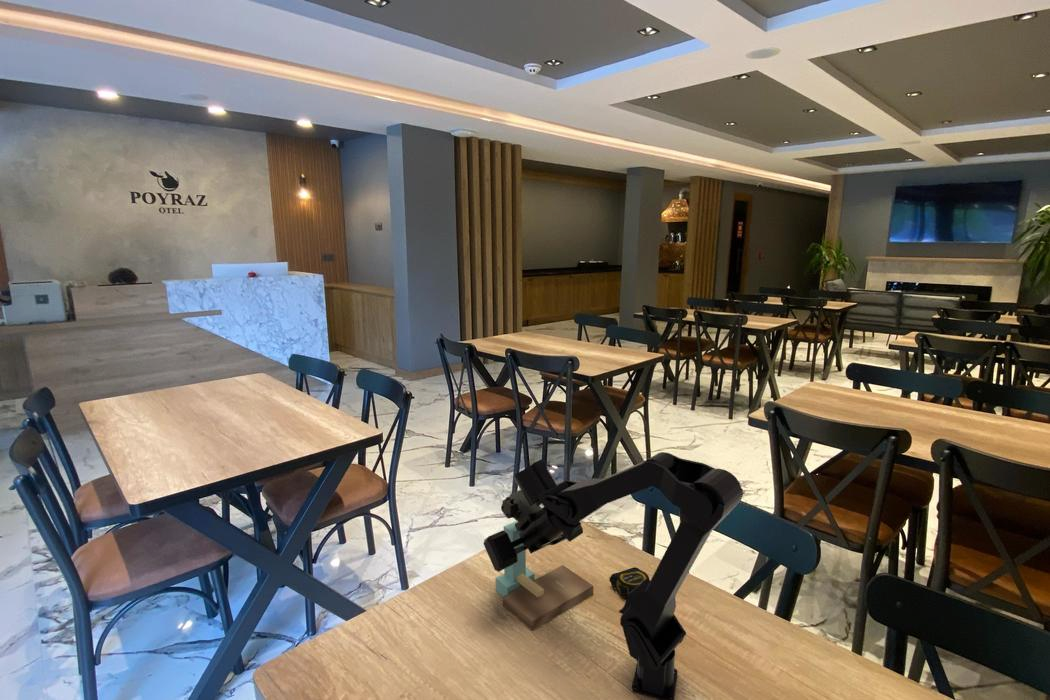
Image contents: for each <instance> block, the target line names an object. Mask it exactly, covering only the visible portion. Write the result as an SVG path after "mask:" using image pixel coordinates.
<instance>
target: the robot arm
mask: <svg viewBox="0 0 1050 700" xmlns="http://www.w3.org/2000/svg"><path fill="white" fill-rule="evenodd" d="M513 479H514V480H515V483H516V484H517V486H518V487H519V489H520V490H517V491H514V492H511V493H510V494H509V496H506V497H505V499H504V500H502V504H501V507H500V511H501V513H503V514H504V516H505V518H507V519H509V520H510V519H514V520H515V521H517V523H516V524H515V527H516V529H517V531H518V530H519V531H520V533H519V535H520V538H519V539H517V540H515V541H512V542H511V541H510V538H509V536H508V534H507V533H506V532H505V531H504V530H501V531H498V532H495V533H493V534H491V535H488V536H487V537H486V538H485V539H484V541H483V547H484V549H485V551H486V552H487V555H488V557H489V559H490V562H491V565H492V566H493V569H494V571H496V572H501V571H503V570H504V569H506V568H508V567H510V566H512V565H513V564H515V563H517V554H518V553H520V552H522V551H525V550H526V551H527V550H528V551H529V553H530V555H531V554H534V553H535V552H538V551H540V550H541V549H544V548H545V547H546V548H547V547H548V546H554V545H555V546H556V545H557V544H558V543H562V542H564V541H566V540H567V541H568V542H572V541H573V540H575V539H576V538H579V536H581V535H583V533H584V529H583V526H582V522H581V521H583V520H584V519H586V518H587V517H589V516H591V515H593V514H594V513H596V512H597V511H599V510H600V509H601V508H603V507H604V506H606V505H607V504H610V503H612V502H615V501H617V500H620V499H623V498H625V497H628V496H630V495H633V494H635V493H638V492H641V491H643V490H646V489H648V488H650V487H653V488H656V489H657V490H659V491H660V492H661V493H662V495H664V496H665V498H666V499H667V500H668V501H669V502H670V503H671V504H672V505H674V506H675V507H677V508H679V524H678V527H677V529H676V531H675V533H674V534H673V536H672V538H671V541H670V542H669V544H668V546H667V548H666V550H665V552H664V554H663V556H662V558H661V560H660V562H659V563H658V566H657V567H656V569H655V571H654V573H653V575H652V577H651V579H650V578H649V579H650V580H649V579H648V578H646V579H645V580H644V581H643V582H642V583H640V584H639V585H638V586H637V587H636V588H635V589H634V590H633V591H631V592H630V593H629V594H628V596H627V598H626V597H625V602H624V606H623V607H621V609H619V610H618V613H620V614H622V615H620V621H619V623H620V626H621V627H622V630H623V635H624V638H625V641H626V646H627V648H628V649H627V650H628V653H629V656H630V657H631V658H633V659H634V660H636V662H637V663H636V667H635V671H634V675H633V680H632V685H631V690H632V692H634V693H638V694H641V695H645V696H648V697H652V698H655V699H658V700H675V698H676V697H675V696H676V688H677V680H678V672H679V671H678V670H677V669H676V668H675V660H676V648H677V647H678V646H679V644H681V643H682V642H683V641H684V639H685V638H686V635H687V631H686V630H685V629H684V627H683V626H682V623H680V621H679V620H678V618H677V617H676V615H675V610H676V607H677V601H676V596H677V594H678V592H679V591H680V589H681V586H682V584H683V583H684V581H685V579H686V577H687V576H688V574H689V573H690V570H691V568H692V567H693V565H694V564H695V561H696V560H697V558H698V556H699V555H700V553H701V551H702V549H703V547H704V546H705V544H706V542H707V540H708V538H709V537H710V534H711V533H712V532H713V531H714V529H716V528H717V526H718V525H719V524H720V523H722V522H723V520H724V519H726V518H727V516H728V515H729V514H730V513H731V512H732V511H733V510H734V509H735V508H736V507H737V505H738V504H739V503H740V502H741V501H742V499H743V495H744V490H743V488H742V486H741V483H740V482H739V480H738V478H737V477H736V476H735V475H734V474H732V472H730V471H728V470H726V469H721V468H715V467H713V466H711V465H709V464H706V463H703V462H699V461H695V460H690V459H685V458H680V457H678V456H676V455H674V454H672V453H670V452H664V451H662V452H661V451H660V452H658V453H656V454H654V455H652V456H651V457H649V458H647V459H646V460H644V461H643V460H642V461H641V462H639V463H636V464H635V465H632V466H629V467H627V468H625V469H623V470H620V471H618V472H616V473H613V474H611V475H609V476H606V477H602V478H594V477H593V478H589V479H583V480H580V481H574V480H568V479H565V480H563V481H561V482H560V483H556V481H555V480H554V477H553V476H552V475H551V474H550V472H549V470H548V468H547V466H546V464H545V462H544V461H543V459H538V460H536V461H534V462H532V464H531V465H529V466H527V467H525V468H524V469H523V470H520V471H518V472H517V473H515V475H513ZM541 505H542V506H543V507H542V506H541ZM521 544H523V545H522V546H519V545H521ZM517 546H519V548H518V547H517ZM515 547H517V548H515ZM514 548H515V549H514Z"/></svg>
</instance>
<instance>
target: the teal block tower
mask: <svg viewBox="0 0 1050 700" xmlns="http://www.w3.org/2000/svg"><path fill="white" fill-rule="evenodd" d="M517 522H518V521H516V520H515V521H513V522H511V523H508V524H506V525H504V526H503V531H505V532H506V533H507V534H508V536H509V538H510V541H511V542H512V541H515V540H517V539H519V538H520V535H519V533H520V531H519V530H518V531H517V529H516V527H515V524H516V523H517ZM522 545H523V544H521V545H519V546H522ZM519 546H517V547H518V548H519ZM517 547H515V548H517ZM515 548H514V549H515ZM526 551H527V550H525V551H522V552H520V553H518V554H517V563H515V564H513V565H512V566H510V567H508V568H506V569H504V571H503V572H504V573H503V574H500V575H498V576H497V577H495V592H496V593H498V594H499V595H500V596H501V597H502V598H503V596H504V595H506V594H508V593H510V592H512V591H514V590H516V589H518V588H520V587H522V586H524V587H525V588H526V589H528V590H529V591H530V592H531V593H533V594H534V595H535V596H536V597H539V596H541V595H542V594H544V589H543V588H541V587H540V586H539V585H538V584H536V583H535V582H534V581H533V580H535V578H536V577H535V572H533V571H532V570H530V569H529V568H527V567H526V565H527V563H526V562H527V561H526V560H527V559H526V557H527V555H526V554H527V553H526Z"/></svg>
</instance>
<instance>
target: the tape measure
mask: <svg viewBox="0 0 1050 700" xmlns="http://www.w3.org/2000/svg"><path fill="white" fill-rule="evenodd" d="M608 578H609V583H610V585H611V587H612V588H613V589H615V590H617V592H618V594H620V595H621V596H623V597H625V599H626V598H627V596H628V594H629V593H630V592H631V591H633V590H634V589H635V588H636V587H637V586H638V585H639V584H640V583H642V582H643V581H644V580H645V579H646V578H648V579H649V580H650V581H651V579H650V577H649V574H647V573H646V572H645V571H643V570H641V569H639V568H638V567H635V566H634V567H630V568H628V569H624V570H621V571H618V572H614V573H612V574H611V576H609V577H608Z"/></svg>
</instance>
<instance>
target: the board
mask: <svg viewBox="0 0 1050 700" xmlns="http://www.w3.org/2000/svg"><path fill="white" fill-rule="evenodd" d="M533 581H534V582H535V583H536V584H538V585H539V586H540V587H541V588H543V589H544V594H542V595H541V596H539V597H536V596H535V595H534V594H533V593H531V592H530V591H529V590H528V589H526V588H525V587H524V586H522V587H520V588H518V589H516V590H514V591H512V592H510V593H508V594H506V595H504V596H503V597H502V605H503V607H504V608H506V610H508V611H509V612H510V613H511V614H513V616H515V617H516V618H517V619H518V620H519V621H520V622H521V623H522V624H524V625H525V626H526V627H527V628H528V629H529V630H530V631H532V632H533V631H534V630H535V629H536V630H537V629H538V628H540V627H542V626H543V625H545V624H547V623H548V622H550V621H551V620H553V619H554V618H556V617H558V616H560V615H561V614H563V613H565V612H566V611H568V610H570V609H571V608H574V607H575V606H576V605H578V604H579V603H581V602H583V601H585V600H586V599H587V600H588V598H590V597H591V596H593V595H594V587H595V586H594V585H593V584H591V583H590V582H589V581H587V580H586V579H584V578H583V577H582V576H580V575H579V574H577V573H576V572H574V571H573V570H571V569H570V568H568V567H566V566H565V565H560V566H559V567H557V568H554V569H553V570H551V571H549V572H547V573H545V574H543V575H541V576H539V577H538V578H536V579H535V580H533Z"/></svg>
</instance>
